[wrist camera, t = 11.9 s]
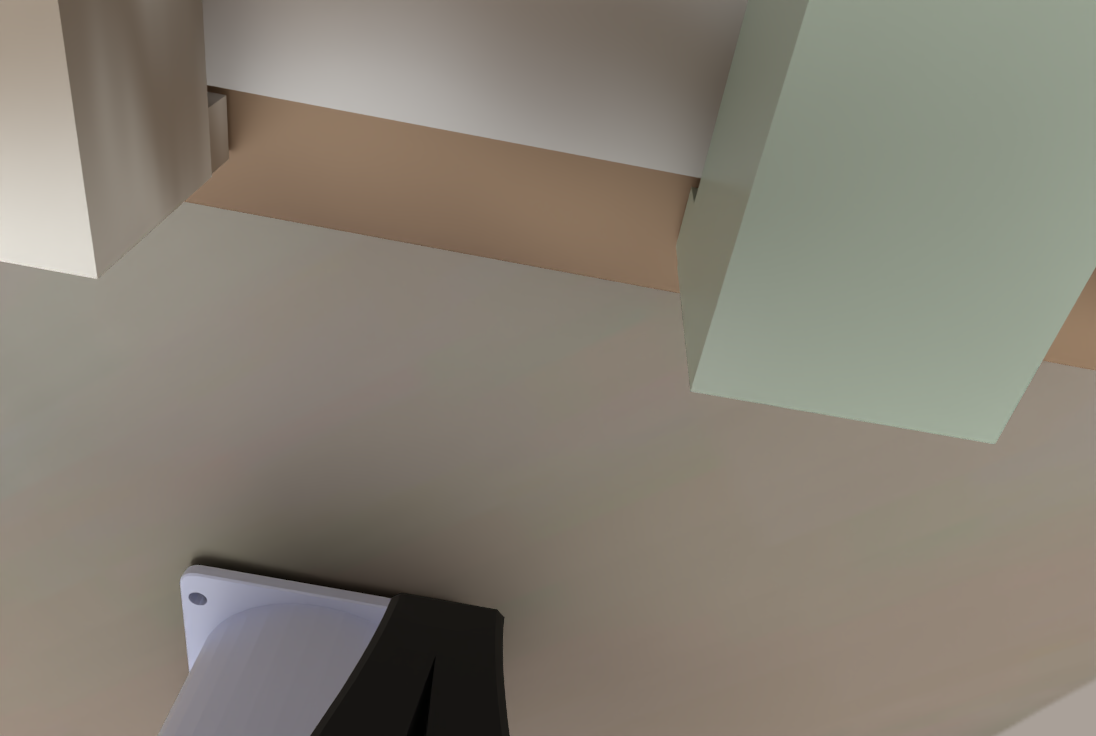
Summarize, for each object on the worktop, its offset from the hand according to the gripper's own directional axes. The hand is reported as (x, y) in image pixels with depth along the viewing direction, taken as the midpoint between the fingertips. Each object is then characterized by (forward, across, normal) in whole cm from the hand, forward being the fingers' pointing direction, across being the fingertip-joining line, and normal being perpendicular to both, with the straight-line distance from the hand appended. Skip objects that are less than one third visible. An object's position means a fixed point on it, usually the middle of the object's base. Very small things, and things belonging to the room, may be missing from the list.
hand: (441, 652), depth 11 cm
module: (+8, -5, -6) cm, 11 cm away
